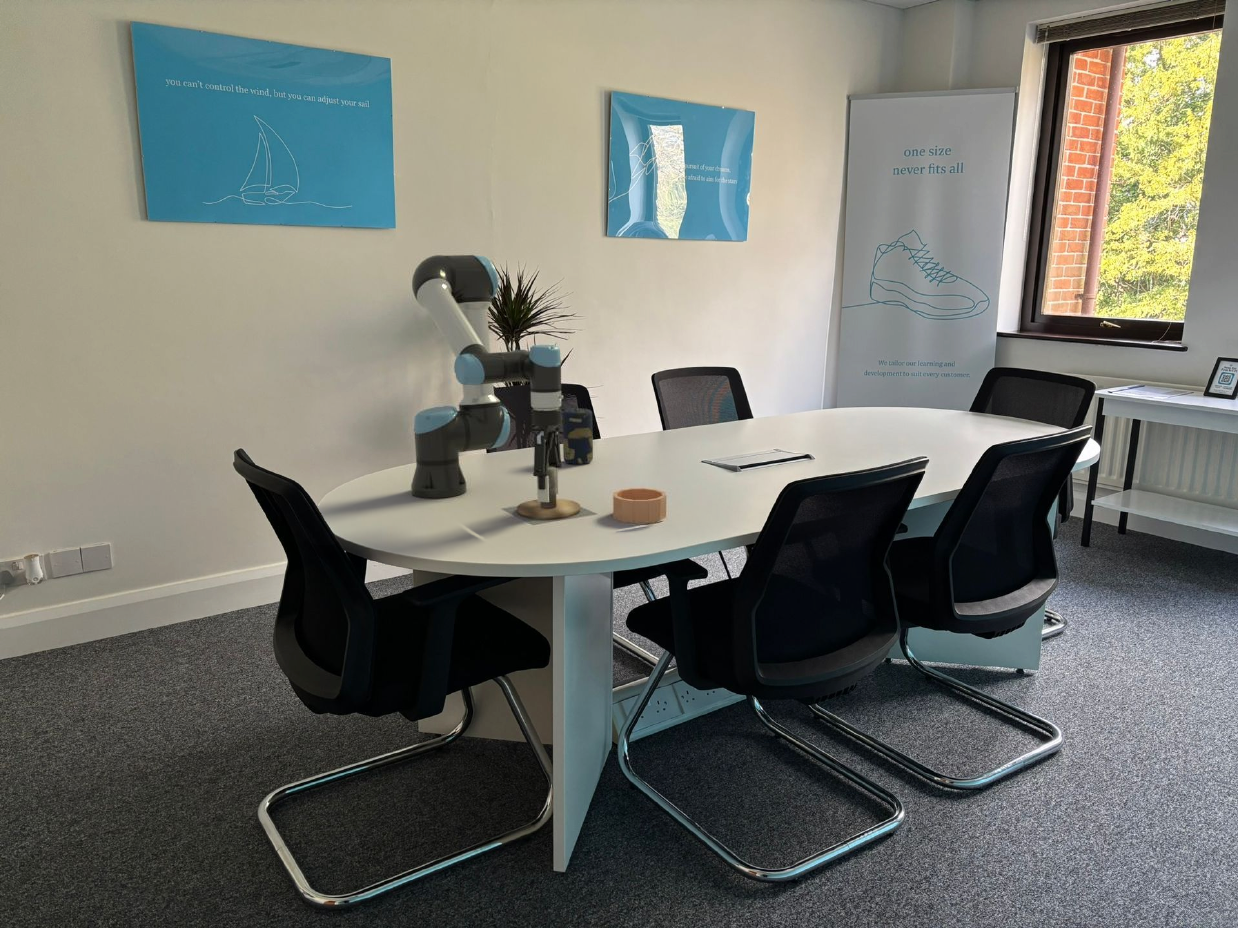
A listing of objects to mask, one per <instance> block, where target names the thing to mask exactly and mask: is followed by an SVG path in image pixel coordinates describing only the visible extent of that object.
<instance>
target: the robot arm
mask: <svg viewBox="0 0 1238 928" xmlns="http://www.w3.org/2000/svg"><path fill="white" fill-rule="evenodd" d="M411 288H412V293H413V296H414V298H415V299H416V302H417V303H418V305H420V307H422V308H423V309H426V311H427V312H428V313H429V316H430V318H431V319H432V320H433V322H434V323H435V325H436V327H437V329H438V330H439V332H440V334H441V335H442V337H443V339H444V340H445V342H446V344H447V345H448V347H449V348H450V350H451V351H452V353H453V355H454V356H455V360H454V364H453V365H454V366H453V367H454V368H453V370H454V373H455V378H456V380H457V381H458V383H459V384H460V385H462V393H463V394H462V395H463V397H462V399H461V400H460V402H458V409H457V408H456V407H455V406H453V405H443V406H435V407H430V408H426V409H423V410H421V411H419V412H417V413H416V415H415V416H414V423H413V425H414V428H413V432H414V445H415V459H416V462H415V463H416V464H415V465H416V467H415V470H414V474H413V477H412V482H411V485H410V486H411V487H410V489H411V495H413V496H415V497H418V498H425V499H440V498H441V499H443V498H451V497H456V496H459V495H463V494H465V493H466V492H467V490H468V489H467V481H466V478H465V476H464V474H463V471H462V468H461V464H460V457H459V456H460V453H466V452H472V451H482V450H491V449H494V448H499V447H502V446H503V445H504V444H505V443H506V442H507V440H508V438H509V434H510V430H511V419H510V415H509V411H508V410H507V408H506V407H505V406H502V405H501V400H500V399H499V398H498V397H497V396H496V395H495V391H494V384H497V383H499V384H500V383H513V382H530V407H532V409H531V411H530V412H531V416H530V417H531V424H532V425H534V426H537V427H538V431H537V434H535V435H534V436H533V441H534V447H533V448H534V449H533V450H534V453H533V454H534V455H533V457H534V458H533V474H532V475H533V477H536V484H537V485H536V487H537V488H536V491H537V493H536V495H537V500H538V502H549V481H548V476H547V469H548V466H551V467H555V468H556V495H559V493H560V488H559V486H560V483H559V469H562V466H563V464H562V457H561V446H560V445H561V444H560V441H561V440H560V427H559V426H558V425H560V424H562V423H563V415H562V414H563V411H562V409H561V408H560V407H562V400H563V399H564V395H562V358H561V349H560V347H559V346H558V345H554V344H536V345H531V346H530V349H529V350H526V349H514V350H511V351H504V352H503V351H501V352H500V351H499V352H491V344H490V332H489V322H488V311H487V310H488V309H489V307H490V306H491V305H492V304H493V303H492V299H493V298H495V296H496V295H497V293H498V288H499V277H498V273H497V271H496V267H495V265H494V263H492V261H491V260H490V259H489V258H488V257H486V256H483V255H474V254H470V255H469V254H466V255H464V254H461V255H460V254H459V255H456V254H454V255H453V254H452V255H450V254H449V255H442V254H441V255H439V254H435V255H432V256H429V257H427V258H425V259H423V261H421V262H420V263H419V264H418V265H417V267H416V268H415V271H414V272H413V275H412V280H411ZM540 470H541V471H540Z"/></svg>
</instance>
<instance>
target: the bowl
mask: <svg viewBox="0 0 1238 928" xmlns="http://www.w3.org/2000/svg"><path fill="white" fill-rule="evenodd" d="M612 506H613V507H612V515H613V519H615V520H618V521H620V522H625V523H630V524H631V523H632V524H642V526H650V525H655V524H656V525H657V524H660V523H662V522H663V520H664V519H666V518H667V493H666V492H665V491H663V490H659V489H655V488H649V487H648V488H647V487H632V488H631V487H630V488H625V489H619V490H617V491H614V492H613V493H612Z"/></svg>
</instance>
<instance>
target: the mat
mask: <svg viewBox="0 0 1238 928" xmlns="http://www.w3.org/2000/svg"><path fill="white" fill-rule="evenodd" d="M517 506H518V505H516V506H515V505H514V506H510V507H509V506H508V507H504V508H501V510H502V511H505V512H507V513H509V514H511V515H512V516H515V517H517V518H518V519H520V520H522V521H524V522H526V523H528V524H530V525H532V526H536V525H541V524H547V523H552V522H559V521H565V520H571V519H578V518H582V517H589V516H595V515H598V513H597V512H593V511H592V510H590V509H587V508H585V507H583V506H580V513H578V514H577V515H575V516H572V517H568V518H563V519H553V520H538V519H530V518H525V517H522V516H520V515H518V514H517Z"/></svg>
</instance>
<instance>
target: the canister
mask: <svg viewBox="0 0 1238 928" xmlns="http://www.w3.org/2000/svg"><path fill="white" fill-rule="evenodd" d="M593 433H594V432H593V412H592V410H590V409H588V408H578V406H576V407H575V408H567V409H565V410H563V411H562V446H563V447H562V448H563V449H562V450H563V454H562V457H563V461H564V462H566V463H568V464H573V465H574V464H577V465H578V464H579V465H581V464H587V463H591V462H592V461H593V460H594V434H593Z"/></svg>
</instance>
